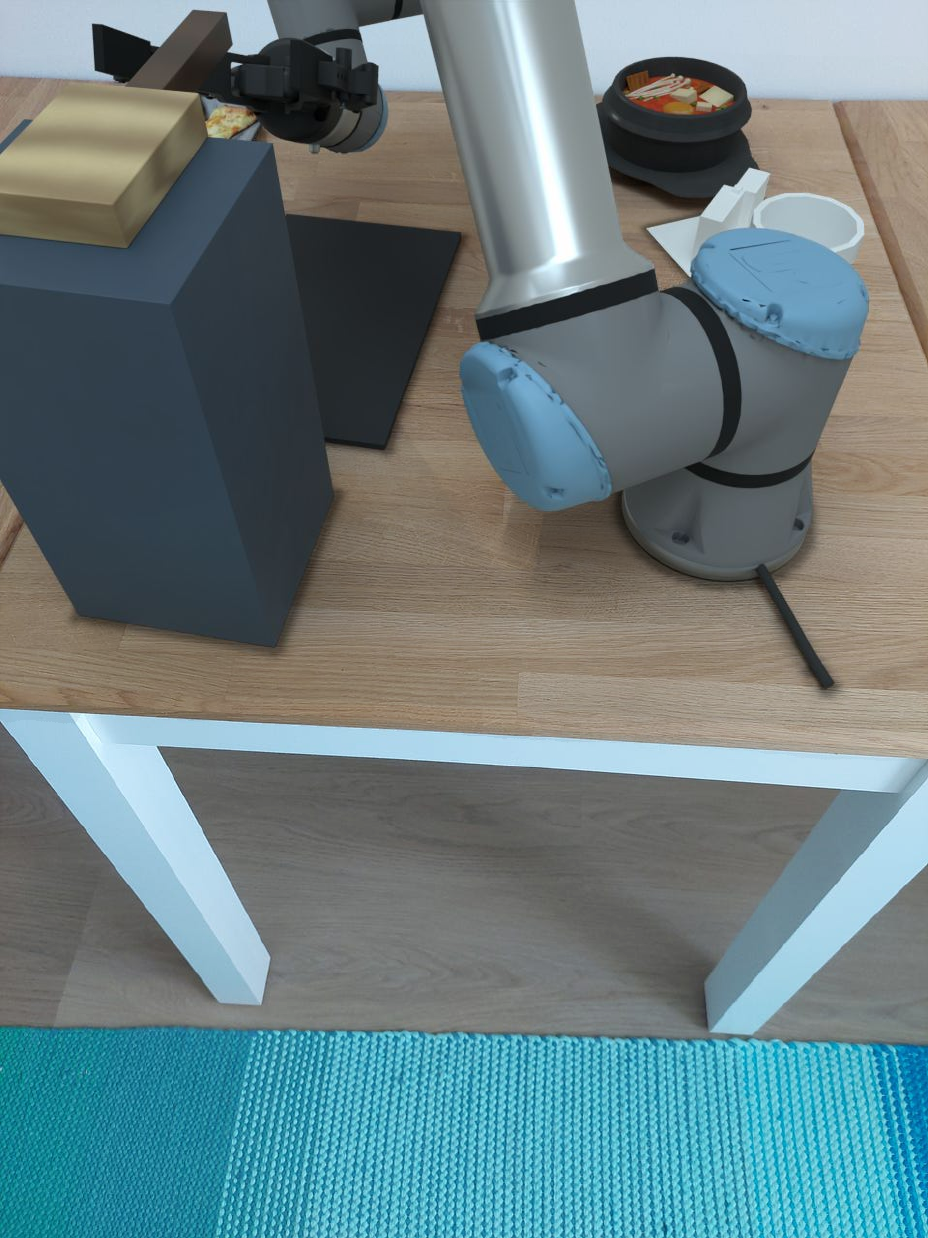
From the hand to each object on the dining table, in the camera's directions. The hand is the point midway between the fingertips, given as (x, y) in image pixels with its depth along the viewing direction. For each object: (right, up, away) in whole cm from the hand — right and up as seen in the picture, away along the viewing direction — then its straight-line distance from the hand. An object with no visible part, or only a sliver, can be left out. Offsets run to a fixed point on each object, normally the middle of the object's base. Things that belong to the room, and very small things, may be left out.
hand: (195, 55), depth 61 cm
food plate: (-20, +22, +54) cm, 62 cm away
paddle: (-2, -7, -5) cm, 9 cm away
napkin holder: (+46, +4, +41) cm, 62 cm away
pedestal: (-3, -31, +15) cm, 35 cm away
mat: (+4, -7, +33) cm, 34 cm away
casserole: (+42, +18, +51) cm, 69 cm away
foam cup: (+47, -10, +30) cm, 57 cm away
